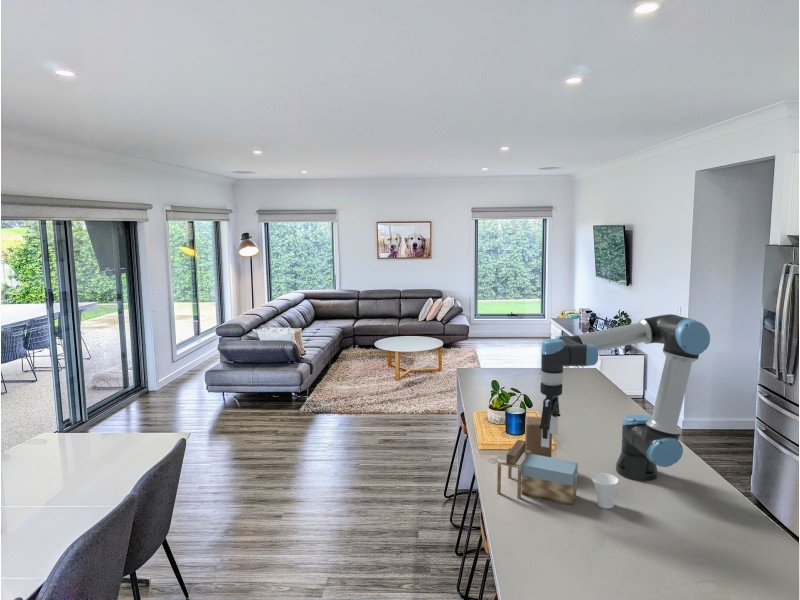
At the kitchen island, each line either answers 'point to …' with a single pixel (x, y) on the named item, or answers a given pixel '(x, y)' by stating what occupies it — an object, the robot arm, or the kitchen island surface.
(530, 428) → the wooden block
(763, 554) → the kitchen island surface
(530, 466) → the lid
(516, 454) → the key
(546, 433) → the robot arm
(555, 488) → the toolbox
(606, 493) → the cup
